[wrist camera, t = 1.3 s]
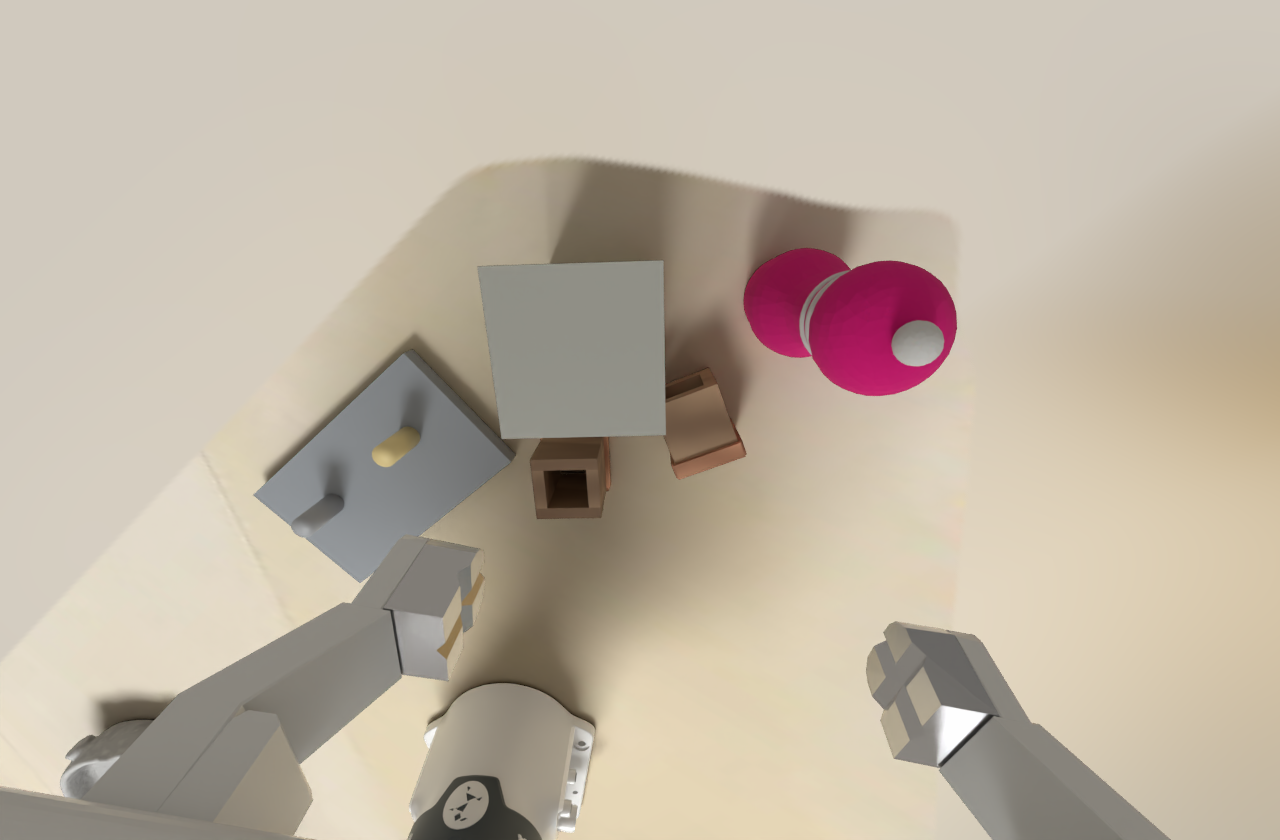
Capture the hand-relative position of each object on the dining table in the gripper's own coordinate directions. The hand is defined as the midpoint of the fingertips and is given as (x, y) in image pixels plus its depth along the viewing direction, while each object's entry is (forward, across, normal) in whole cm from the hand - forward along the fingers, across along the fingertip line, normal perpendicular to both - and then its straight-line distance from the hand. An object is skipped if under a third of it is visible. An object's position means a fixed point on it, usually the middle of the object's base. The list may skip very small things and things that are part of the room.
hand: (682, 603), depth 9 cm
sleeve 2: (+28, +3, -11) cm, 31 cm away
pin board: (+26, -22, -21) cm, 40 cm away
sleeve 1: (+27, -6, -17) cm, 32 cm away
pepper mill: (+31, +8, -1) cm, 32 cm away
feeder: (+29, -5, -6) cm, 30 cm away
